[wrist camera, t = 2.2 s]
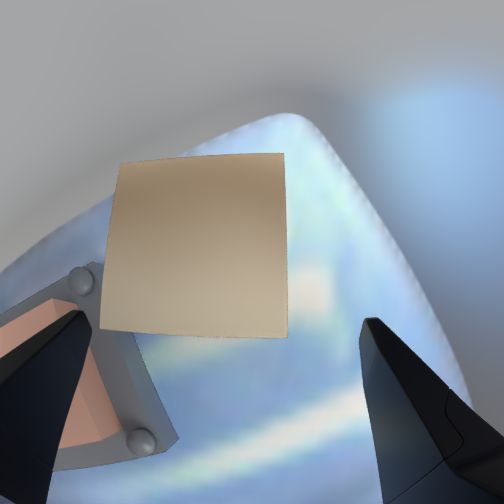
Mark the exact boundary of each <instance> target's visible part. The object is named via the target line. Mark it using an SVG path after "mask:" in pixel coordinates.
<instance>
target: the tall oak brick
mask: <svg viewBox="0 0 504 504" xmlns="http://www.w3.org/2000/svg"><path fill="white" fill-rule="evenodd" d="M100 329H107V330H117V331H127V332H138V333H150V334H163V335H179V336H197V337H223V338H288V283H287V226H286V193H285V166H284V153H250V154H225V155H207V156H192V157H179V158H168V159H159V160H158V159H157V160H148V161H139V162H130V163H122V164H121V165H120V170H119V175H118V180H117V184H116V190H115V195H114V200H113V206H112V212H111V218H110V225H109V231H108V238H107V246H106V254H105V263H104V272H103V283H102V295H101V310H100Z"/></svg>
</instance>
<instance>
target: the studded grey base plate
mask: <svg viewBox="0 0 504 504" xmlns="http://www.w3.org/2000/svg"><path fill="white" fill-rule="evenodd" d="M103 272H104V266H102V265H100V264H97V263H95V262H91V263H89V264H87V265H86V266H84V267H82V268H81V267H76V268H74V269H73V270H72V271H71V272H70V274H69V275H67V276H66V277H64V278H62V279H60V280H59V281H57V282H55V283H53V284H52V285H50V286H48V287H46V288H45V289H43V290H41V291H39V292H38V293H36V294H34V295H33V296H31V297H29V298H28V299H26V300H24V301H23V302H21V303H19V304H18V305H16V306H14V307H13V308H11V309H9V310H8V311H6V312H5V313H3V314H1V315H0V358H1V357H3V356H4V355H6V354H7V353H8V352H10V351H11V350H13V349H14V348H16V347H17V346H19V345H20V344H21V343H23V342H24V341H26V340H27V339H29V338H30V337H32V336H33V335H35V334H36V333H38V332H39V331H41V330H42V329H44V328H45V327H47V326H48V325H50V324H51V323H53V322H54V321H56V320H57V319H59V318H60V317H62V316H63V315H65V314H66V313H68V312H70V311H71V310H74V309H76V310H82V311H84V312H85V314H86V316H87V318H88V321H89V323H90V325H91V327H92V337H91V340H90V344H89V347H88V351H87V355H86V359H85V363H84V367H83V370H82V374H81V377H80V380H79V382H78V385H77V388H76V391H75V394H74V397H73V400H72V403H71V407H70V410H69V413H68V416H67V420H66V423H65V426H64V430H63V433H62V437H61V440H60V444H59V448H58V452H57V455H56V459H55V463H54V468H53V469H52V470H53V472H54V471H64V470H73V469H81V468H88V467H95V466H101V465H107V464H113V463H118V462H123V461H128V460H133V459H138V458H142V457H147V456H151V455H155V454H159V453H163V452H166V451H167V450H168V449H169V448H170V447H171V446H172V445H173V444H174V443H175V442H176V441H177V440H178V439H179V438H178V436H177V434H176V432H175V430H174V428H173V426H172V424H171V422H170V420H169V418H168V416H167V414H166V412H165V409H164V407H163V405H162V403H161V401H160V399H159V396H158V394H157V392H156V390H155V387H154V385H153V383H152V381H151V378H150V376H149V374H148V371H147V369H146V366H145V364H144V361H143V359H142V356H141V354H140V351H139V349H138V346H137V344H136V341H135V338H134V336H133V333H132V332H127V331H117V330H107V329H100V310H101V295H102V283H103Z"/></svg>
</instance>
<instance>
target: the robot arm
mask: <svg viewBox="0 0 504 504" xmlns="http://www.w3.org/2000/svg"><path fill="white" fill-rule="evenodd" d="M91 337H92V327H91V325H90V323H89V321H88V318H87V316H86V314H85V312H84V311H82V310H76V309H74V310H71V311H70V312H68V313H66V314H65V315H63V316H62V317H60V318H59V319H57V320H56V321H54V322H53V323H51V324H50V325H48V326H47V327H45V328H44V329H42V330H41V331H39V332H38V333H36V334H35V335H33V336H32V337H30V338H29V339H27V340H26V341H24V342H23V343H21V344H20V345H19V346H17V347H16V348H14V349H13V350H11V351H10V352H8V353H7V354H6V355H4V356H3V357H1V358H0V504H46V501H47V496H48V491H49V486H50V481H51V477H52V472H53V470H52V469H53V468H54V463H55V459H56V455H57V452H58V448H59V444H60V440H61V437H62V433H63V430H64V426H65V423H66V420H67V416H68V413H69V410H70V407H71V403H72V400H73V397H74V394H75V391H76V388H77V385H78V382H79V380H80V377H81V374H82V370H83V367H84V363H85V359H86V355H87V351H88V347H89V344H90V340H91ZM359 349H360V358H361V368H362V378H363V388H364V393H365V398H366V403H367V408H368V413H369V418H370V423H371V429H372V434H373V440H374V446H375V452H376V458H377V464H378V470H379V477H380V484H381V491H382V499H383V504H504V437H503V436H502V435H501V434H500V433H499V432H498V431H496V430H495V429H494V428H493V427H492V426H490V425H489V424H488V423H487V422H486V421H485V420H483V419H482V418H481V417H480V416H479V415H478V414H476V413H475V412H474V411H473V410H472V409H471V408H470V407H469V406H468V405H467V404H466V403H465V402H463V401H462V400H461V399H460V398H459V397H458V396H457V395H456V394H455V393H454V392H453V390H452V389H449V387H448V386H447V385H446V383H445V382H444V381H443V380H442V379H441V378H440V377H439V376H438V375H437V374H436V373H435V372H434V371H433V370H432V369H431V368H430V367H429V366H428V365H427V364H426V363H425V362H424V361H423V360H422V359H421V358H420V357H419V356H417V355H416V354H415V353H414V352H413V351H412V350H411V349H410V348H409V347H408V346H407V345H406V344H405V343H404V342H403V341H402V340H401V339H400V338H399V337H398V336H397V335H396V334H395V333H394V332H393V331H392V330H391V329H390V328H389V327H388V326H387V325H386V324H384V323H383V322H382V321H381V320H380V319H379V318H377V317H371V318H365V319H364V321H363V325H362V329H361V333H360V337H359Z"/></svg>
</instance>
